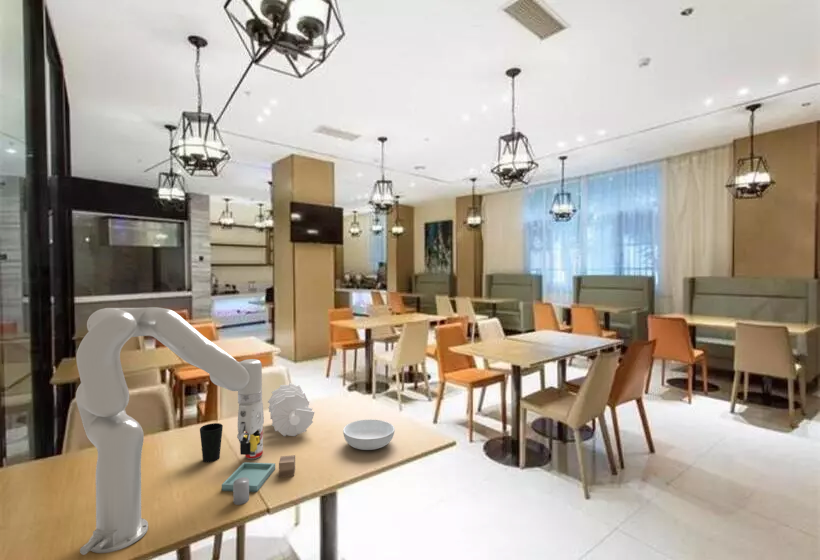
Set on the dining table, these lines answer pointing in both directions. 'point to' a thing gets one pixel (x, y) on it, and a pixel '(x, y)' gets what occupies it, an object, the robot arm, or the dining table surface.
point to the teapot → (253, 442)
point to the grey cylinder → (241, 491)
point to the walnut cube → (287, 466)
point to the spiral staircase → (290, 410)
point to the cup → (211, 441)
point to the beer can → (259, 447)
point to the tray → (250, 475)
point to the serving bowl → (368, 434)
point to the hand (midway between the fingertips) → (250, 448)
